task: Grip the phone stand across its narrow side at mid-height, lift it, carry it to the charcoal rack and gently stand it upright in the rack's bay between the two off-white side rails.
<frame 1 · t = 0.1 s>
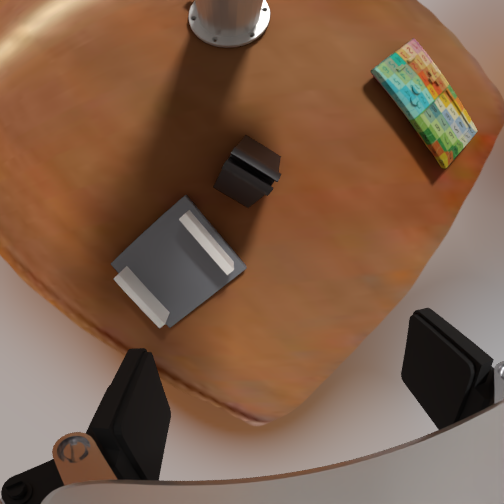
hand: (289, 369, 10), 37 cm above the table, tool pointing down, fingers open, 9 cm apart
rack: (177, 263, 47), on the table
phone stand: (246, 171, 44), on the table
puzzle game: (420, 104, 43), on the table
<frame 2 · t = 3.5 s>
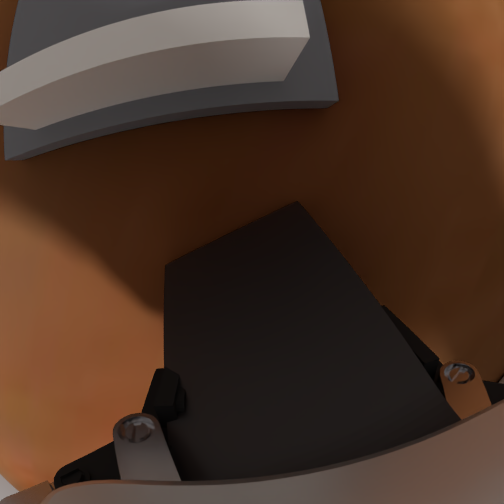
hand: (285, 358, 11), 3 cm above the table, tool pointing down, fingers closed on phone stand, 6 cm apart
phone stand: (274, 318, 14), on the table, touching gripper
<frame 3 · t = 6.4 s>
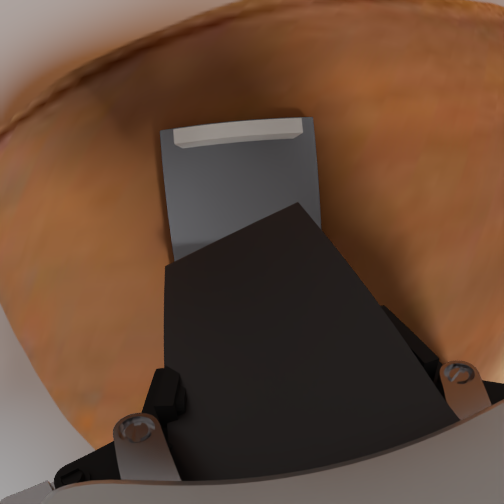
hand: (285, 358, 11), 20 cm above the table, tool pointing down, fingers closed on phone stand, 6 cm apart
rack: (243, 206, 29), on the table
phone stand: (274, 318, 14), point 17 cm above the table, touching gripper
when the fingers open (6 cm above the table, at t = 9.8 s): phone stand drops 1 cm, resting on rack.
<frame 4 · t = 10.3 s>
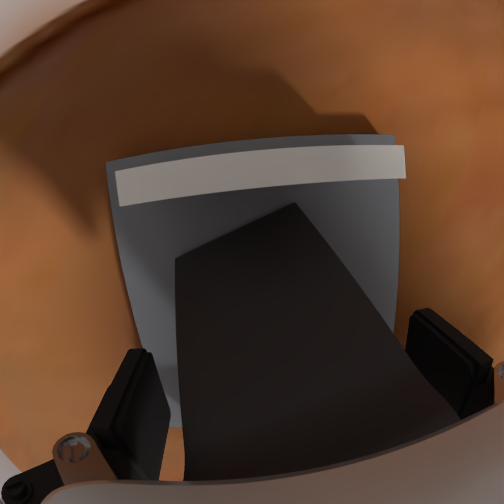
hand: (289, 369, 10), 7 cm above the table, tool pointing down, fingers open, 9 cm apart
rack: (267, 295, 17), on the table
phone stand: (272, 308, 15), point 1 cm above the table, touching rack
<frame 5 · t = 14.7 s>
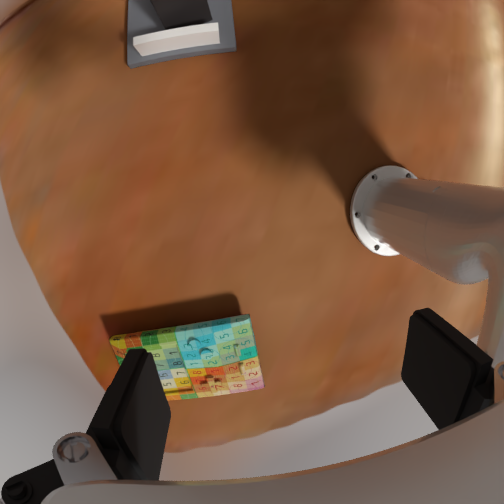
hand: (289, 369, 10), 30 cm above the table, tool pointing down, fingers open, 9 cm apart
rack: (179, 11, 31), on the table
phone stand: (179, 7, 30), point 1 cm above the table, touching rack
puzzle game: (189, 351, 44), on the table
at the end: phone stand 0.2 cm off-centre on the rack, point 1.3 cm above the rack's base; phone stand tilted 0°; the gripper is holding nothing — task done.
